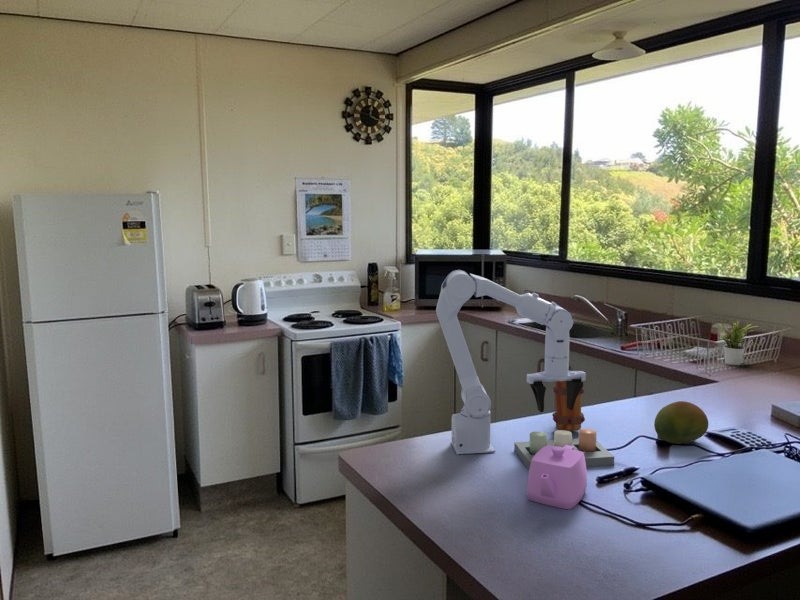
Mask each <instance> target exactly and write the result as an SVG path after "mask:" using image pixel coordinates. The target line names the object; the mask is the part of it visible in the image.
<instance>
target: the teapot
mask: <svg viewBox="0 0 800 600" xmlns="http://www.w3.org/2000/svg"><path fill="white" fill-rule="evenodd" d="M587 477H588V473H587V467H586V463H585V456H584V453H583V452H582V451H577V450H574V446H569V445H566V446H564V447H563V448H562V447H556V446H550V445H547V446H545V447H543V448H542V449H540V450H539V451H538V452H537V453H536V454H535V455H534V457H533V458H532V460H531V464H530V469H528V477H527V482H526V483H527V484H526V485H527V486H526V494H527V498H528V500H529V501H531V502H535V503H538V504H542V505H545V506H549V507H553V508H558V509H563V510H572V509H573V508H575V507H576V506H577V505H578V504H579V502H581V500H582V499H583V497H584V495H585V492H586V489H587V485H588V484H587V483H588V478H587Z"/></svg>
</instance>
